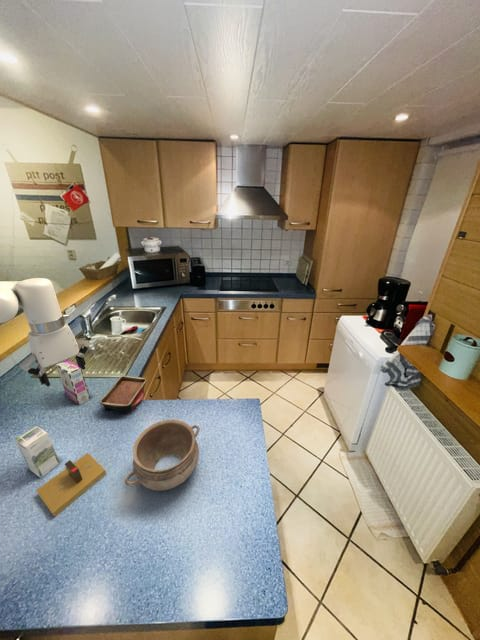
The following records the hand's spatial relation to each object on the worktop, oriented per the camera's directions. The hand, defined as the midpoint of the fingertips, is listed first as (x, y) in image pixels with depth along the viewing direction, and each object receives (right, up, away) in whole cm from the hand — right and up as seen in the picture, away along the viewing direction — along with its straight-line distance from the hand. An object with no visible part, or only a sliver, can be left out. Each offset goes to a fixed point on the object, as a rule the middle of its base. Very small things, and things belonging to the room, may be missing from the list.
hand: (65, 375), depth 75 cm
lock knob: (+5, -29, -2) cm, 29 cm away
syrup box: (-8, -30, +3) cm, 31 cm away
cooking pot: (+30, -30, +3) cm, 43 cm away
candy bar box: (-16, -17, +31) cm, 39 cm away
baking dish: (+5, -18, +29) cm, 35 cm away
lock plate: (+4, -32, -2) cm, 32 cm away
